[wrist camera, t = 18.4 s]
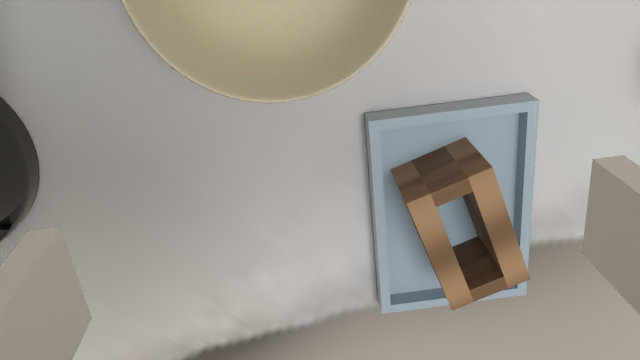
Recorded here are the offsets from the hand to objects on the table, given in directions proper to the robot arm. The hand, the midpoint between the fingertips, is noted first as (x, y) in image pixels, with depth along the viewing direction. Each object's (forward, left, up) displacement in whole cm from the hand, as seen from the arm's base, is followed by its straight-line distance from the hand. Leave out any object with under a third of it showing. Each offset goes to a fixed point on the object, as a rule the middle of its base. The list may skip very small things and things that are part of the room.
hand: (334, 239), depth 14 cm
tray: (+11, -16, -29) cm, 34 cm away
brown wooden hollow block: (+11, -15, -28) cm, 34 cm away
